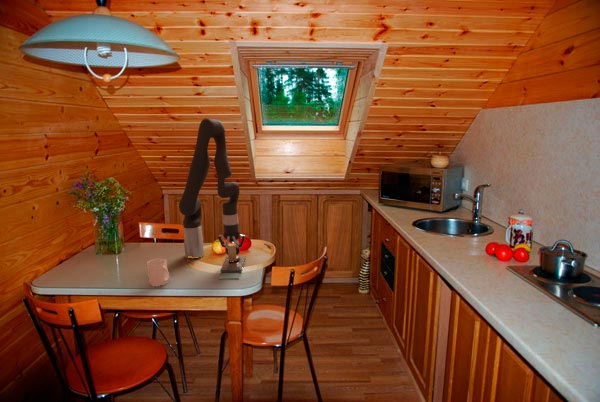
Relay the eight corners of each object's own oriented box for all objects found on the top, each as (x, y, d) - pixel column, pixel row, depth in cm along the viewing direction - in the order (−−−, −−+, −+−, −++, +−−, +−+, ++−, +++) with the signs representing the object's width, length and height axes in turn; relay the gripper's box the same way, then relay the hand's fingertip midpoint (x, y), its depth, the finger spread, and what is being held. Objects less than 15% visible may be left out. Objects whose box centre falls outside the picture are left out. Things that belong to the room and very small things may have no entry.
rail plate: (220, 273, 205) (220, 269, 205) (226, 260, 221) (226, 256, 220) (241, 273, 205) (241, 269, 205) (245, 259, 221) (245, 256, 220)
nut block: (228, 260, 213) (227, 246, 211) (230, 257, 217) (229, 243, 215) (236, 260, 213) (235, 246, 211) (237, 257, 217) (236, 243, 215)
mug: (162, 290, 190) (159, 268, 188) (145, 284, 197) (142, 263, 194) (177, 283, 197) (175, 261, 194) (160, 277, 204) (158, 256, 201)
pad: (219, 279, 199) (219, 278, 199) (221, 274, 205) (221, 273, 205) (238, 279, 199) (238, 278, 199) (240, 273, 205) (240, 272, 205)
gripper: (214, 224, 206) (217, 257, 211) (244, 224, 206) (246, 257, 210) (218, 220, 213) (220, 251, 218) (246, 219, 213) (248, 251, 218)
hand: (233, 254), depth 214 cm, fingers closed on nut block, 4 cm apart
